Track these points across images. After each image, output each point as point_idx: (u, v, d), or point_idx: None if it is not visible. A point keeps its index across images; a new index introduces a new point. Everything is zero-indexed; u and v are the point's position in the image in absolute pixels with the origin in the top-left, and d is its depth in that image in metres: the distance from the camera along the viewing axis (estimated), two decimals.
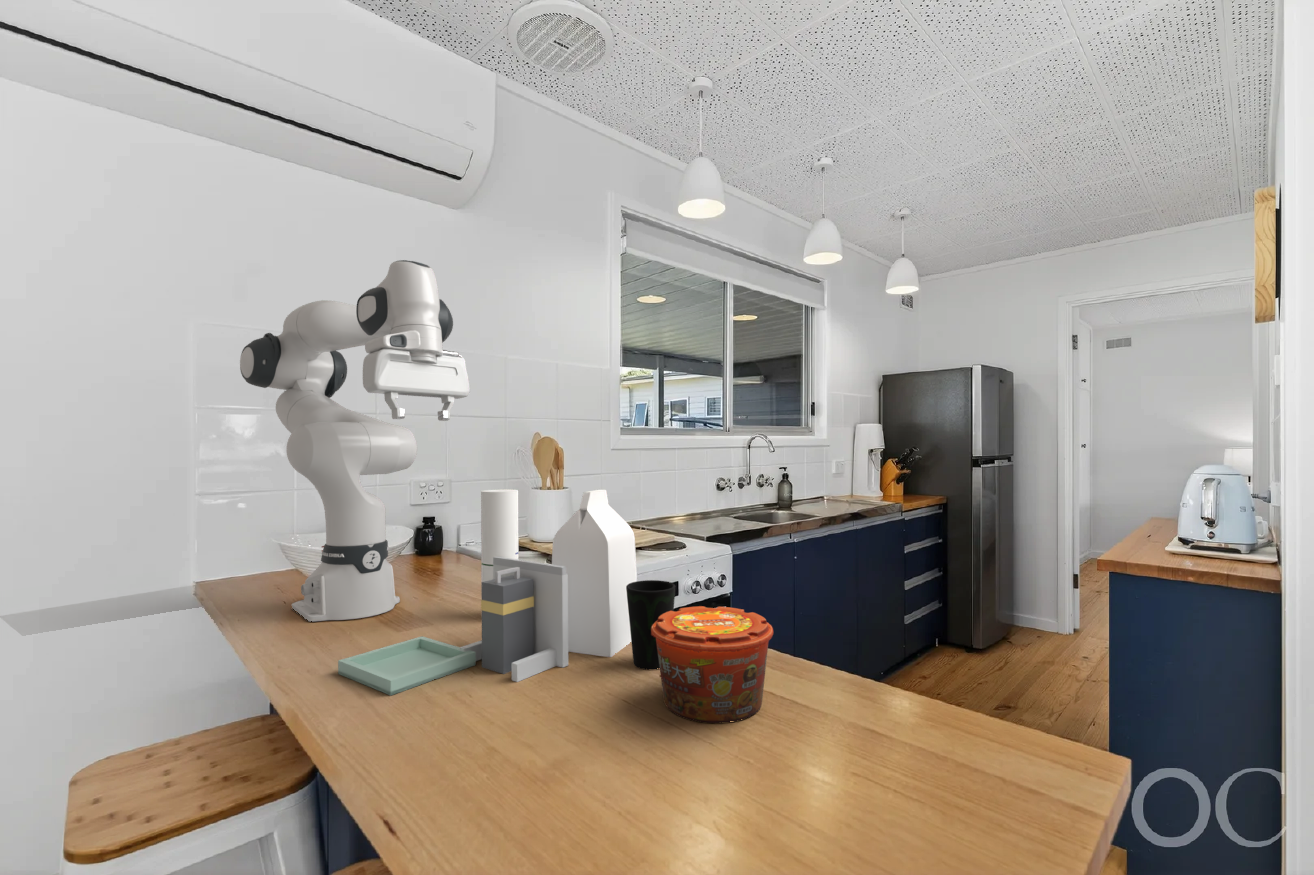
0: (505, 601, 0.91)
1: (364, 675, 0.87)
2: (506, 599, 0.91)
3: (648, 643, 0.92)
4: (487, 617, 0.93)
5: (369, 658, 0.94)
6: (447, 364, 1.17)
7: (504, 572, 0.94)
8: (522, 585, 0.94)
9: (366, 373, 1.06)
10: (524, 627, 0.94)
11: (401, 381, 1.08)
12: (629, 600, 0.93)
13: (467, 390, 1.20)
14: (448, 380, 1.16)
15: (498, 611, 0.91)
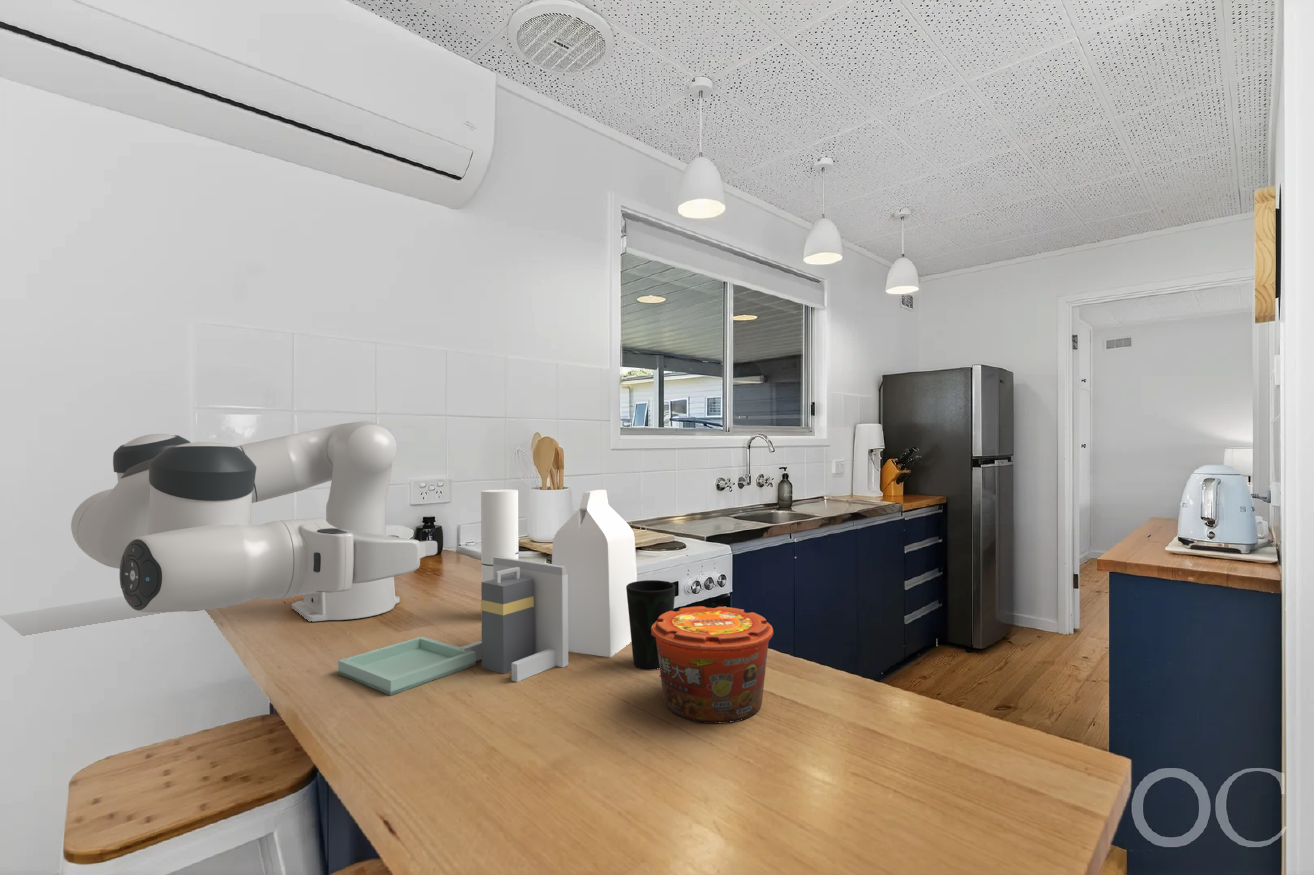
0: (505, 601, 0.91)
1: (364, 675, 0.87)
2: (506, 599, 0.91)
3: (648, 643, 0.92)
4: (487, 617, 0.93)
5: (369, 658, 0.94)
6: None
7: (504, 572, 0.94)
8: (521, 585, 0.94)
9: (397, 562, 0.70)
10: (524, 627, 0.94)
11: (387, 538, 0.75)
12: (629, 600, 0.93)
13: None
14: None
15: (498, 611, 0.91)
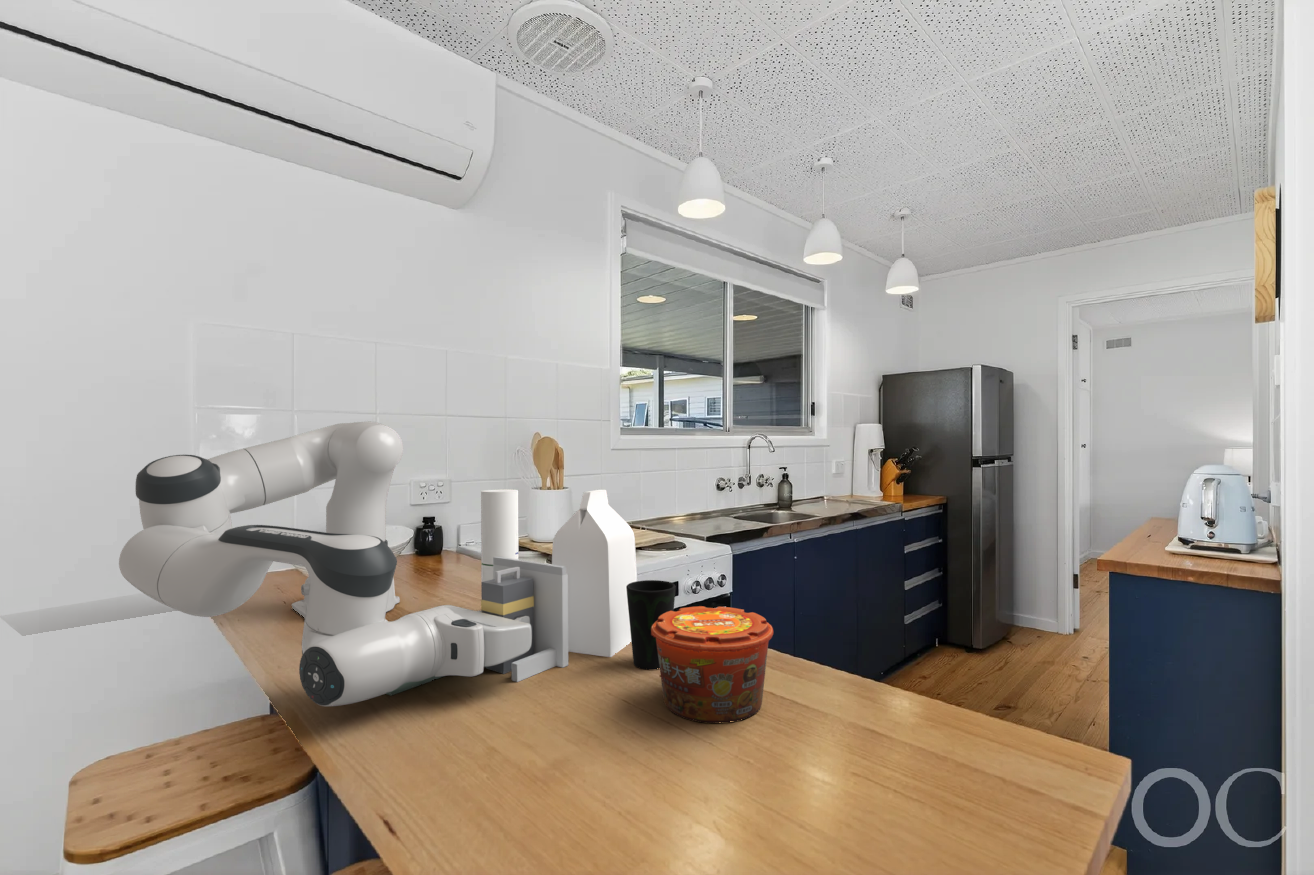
0: (505, 601, 0.91)
1: None
2: (506, 598, 0.91)
3: (648, 643, 0.92)
4: None
5: None
6: None
7: (504, 572, 0.94)
8: (521, 584, 0.94)
9: (517, 646, 0.83)
10: None
11: (500, 620, 0.87)
12: (629, 600, 0.93)
13: (443, 605, 0.96)
14: None
15: (498, 611, 0.91)
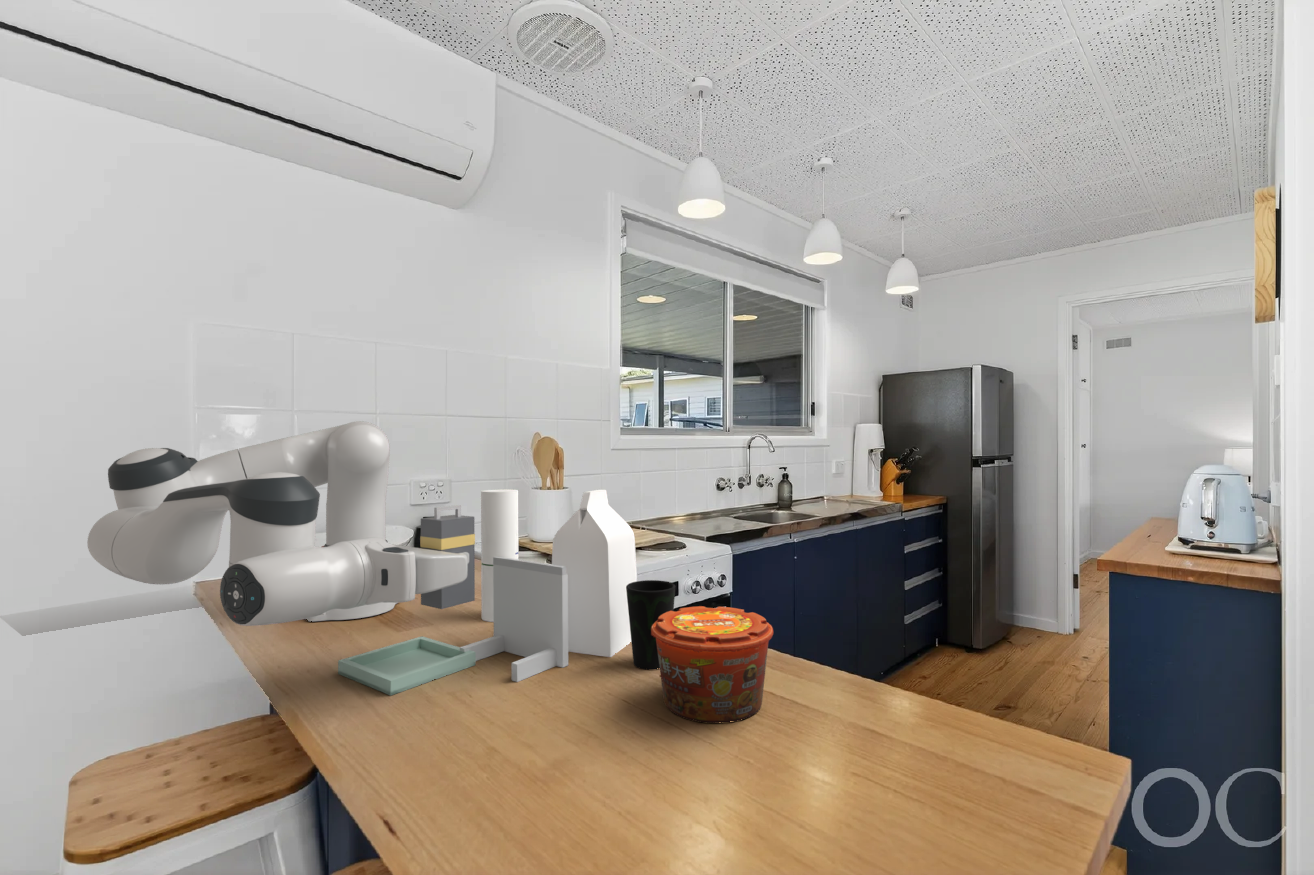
0: (443, 536, 0.90)
1: (364, 675, 0.87)
2: (445, 533, 0.90)
3: (648, 643, 0.92)
4: None
5: (369, 658, 0.94)
6: None
7: (444, 508, 0.93)
8: (462, 521, 0.93)
9: (451, 575, 0.82)
10: None
11: (436, 552, 0.86)
12: (629, 600, 0.93)
13: None
14: None
15: (436, 546, 0.90)
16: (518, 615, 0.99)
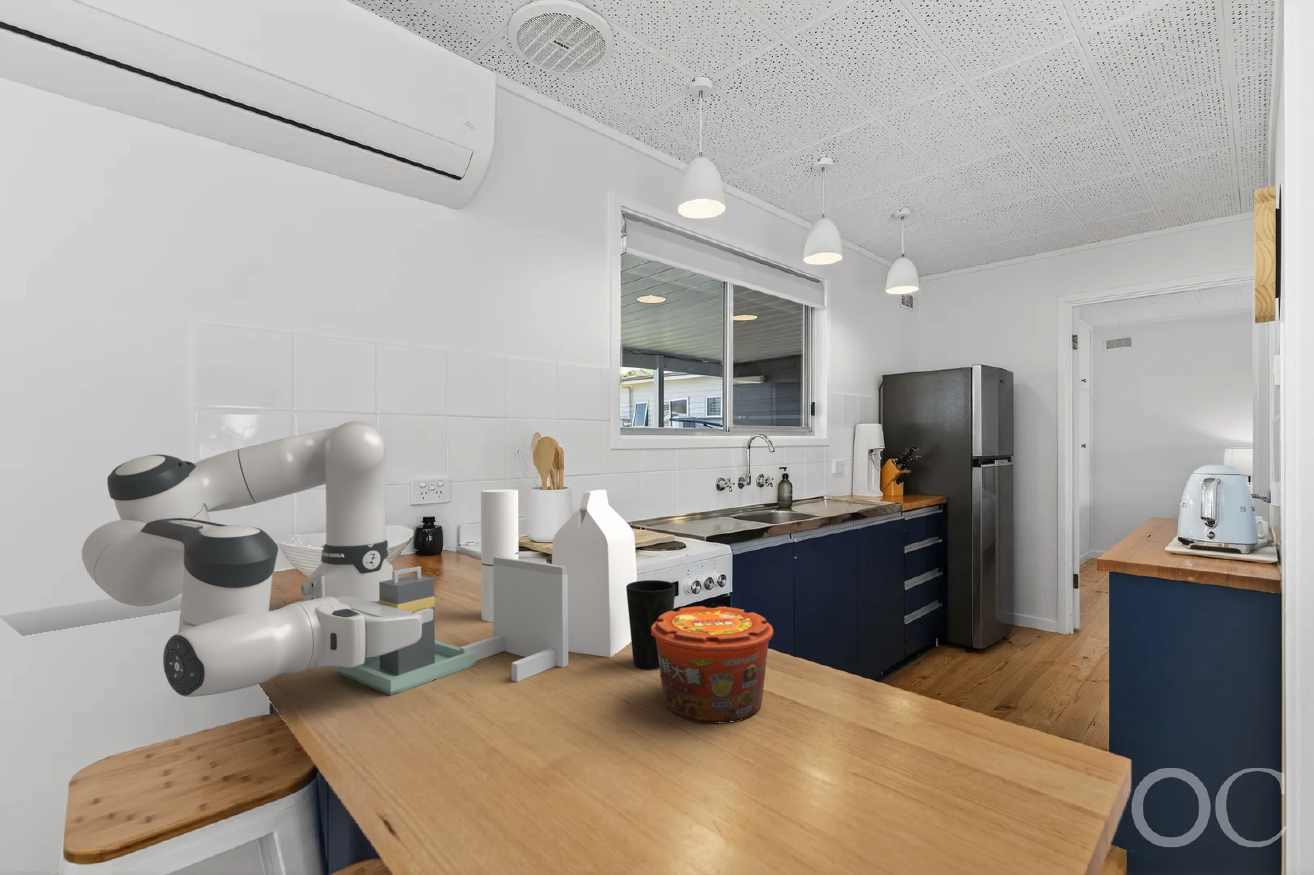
0: (400, 601, 0.89)
1: (364, 675, 0.87)
2: (402, 599, 0.89)
3: (648, 643, 0.92)
4: None
5: (369, 658, 0.94)
6: None
7: (402, 571, 0.92)
8: (420, 584, 0.92)
9: (403, 637, 0.81)
10: (423, 628, 0.92)
11: (391, 611, 0.85)
12: (629, 600, 0.93)
13: (344, 596, 0.94)
14: (348, 602, 0.90)
15: None
16: (518, 615, 0.99)
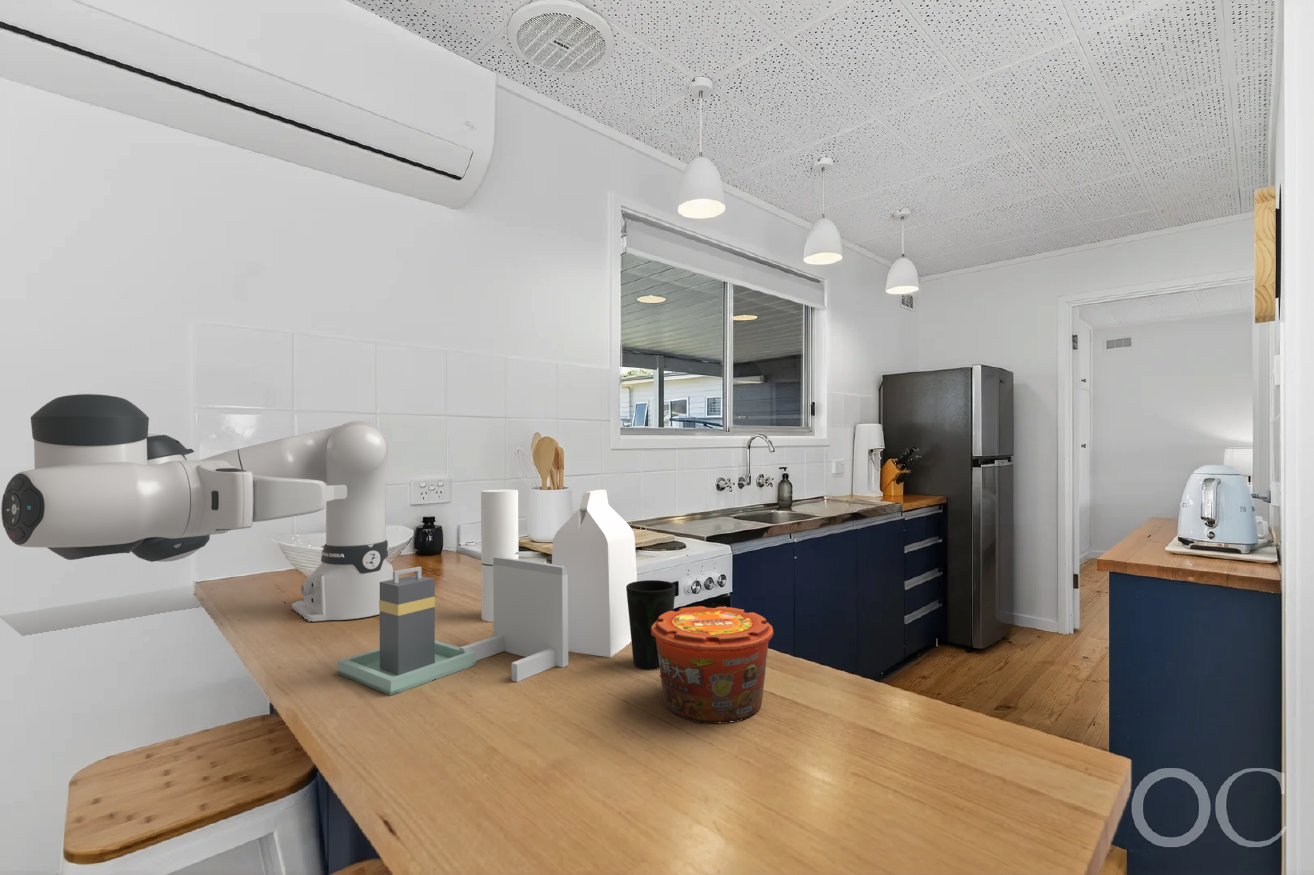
0: (400, 601, 0.89)
1: (364, 675, 0.87)
2: (402, 599, 0.89)
3: (648, 643, 0.92)
4: (384, 618, 0.91)
5: (369, 658, 0.94)
6: None
7: (403, 572, 0.92)
8: (420, 584, 0.92)
9: (300, 501, 0.71)
10: (423, 628, 0.92)
11: None
12: (629, 600, 0.93)
13: None
14: None
15: (393, 612, 0.89)
16: (518, 615, 0.99)
